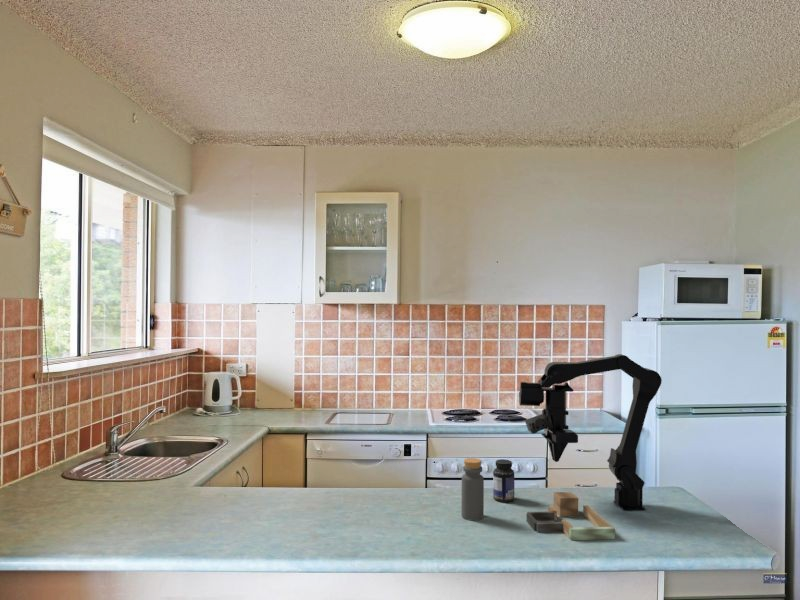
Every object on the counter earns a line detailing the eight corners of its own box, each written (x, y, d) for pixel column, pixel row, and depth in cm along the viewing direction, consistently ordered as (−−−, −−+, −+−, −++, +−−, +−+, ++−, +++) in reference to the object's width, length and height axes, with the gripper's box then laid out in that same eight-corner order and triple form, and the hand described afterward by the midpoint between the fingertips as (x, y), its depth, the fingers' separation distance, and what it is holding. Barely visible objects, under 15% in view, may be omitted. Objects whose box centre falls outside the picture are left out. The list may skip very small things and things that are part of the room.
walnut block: (571, 510, 157) (571, 491, 158) (578, 516, 152) (578, 497, 153) (553, 510, 157) (553, 492, 157) (560, 517, 152) (560, 498, 152)
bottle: (458, 518, 150) (458, 461, 151) (466, 511, 156) (466, 456, 156) (479, 522, 148) (479, 464, 148) (486, 514, 153) (486, 459, 153)
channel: (587, 514, 154) (587, 505, 154) (614, 538, 138) (614, 528, 138) (522, 516, 152) (522, 506, 152) (542, 540, 136) (542, 530, 136)
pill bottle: (513, 496, 168) (513, 458, 168) (515, 503, 162) (515, 464, 162) (492, 495, 169) (492, 458, 169) (493, 502, 163) (493, 463, 163)
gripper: (518, 401, 172) (518, 453, 172) (538, 412, 153) (538, 470, 153) (554, 401, 173) (554, 452, 172) (578, 412, 154) (578, 470, 154)
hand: (555, 460), depth 163 cm, fingers closed
